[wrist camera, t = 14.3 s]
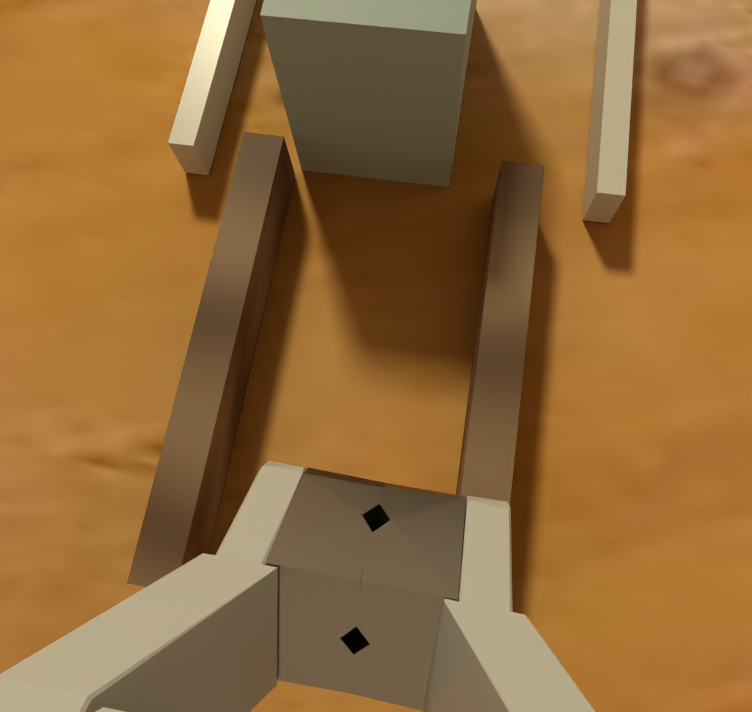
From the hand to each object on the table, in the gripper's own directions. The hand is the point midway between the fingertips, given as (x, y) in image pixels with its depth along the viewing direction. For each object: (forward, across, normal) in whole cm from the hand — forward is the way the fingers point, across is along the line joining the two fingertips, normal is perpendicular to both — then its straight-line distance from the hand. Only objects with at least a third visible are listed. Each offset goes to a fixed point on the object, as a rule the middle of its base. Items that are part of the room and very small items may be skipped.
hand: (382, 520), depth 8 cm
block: (+23, -4, +2) cm, 24 cm away
